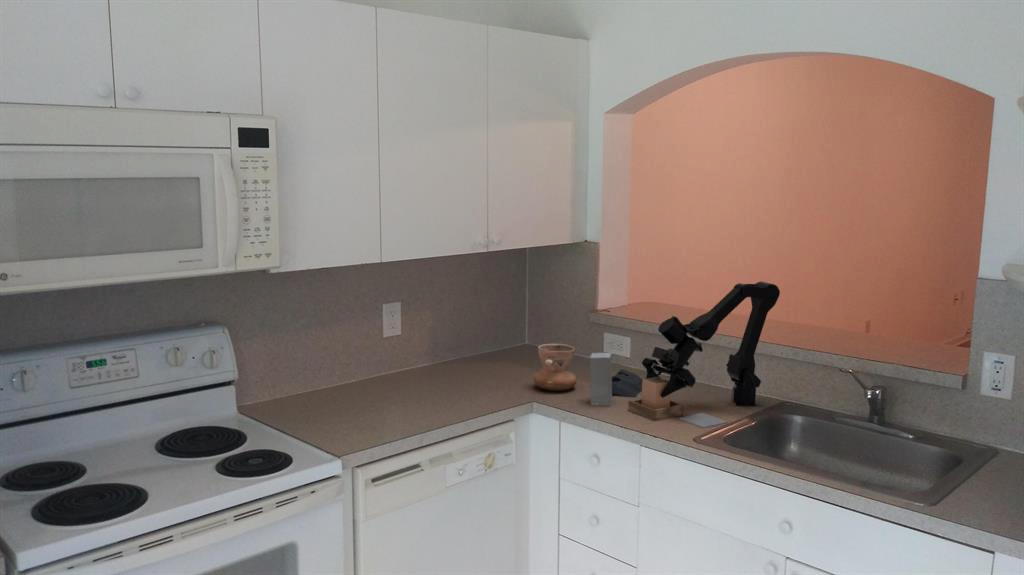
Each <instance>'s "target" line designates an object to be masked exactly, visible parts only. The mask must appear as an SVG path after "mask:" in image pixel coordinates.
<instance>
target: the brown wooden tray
mask: <svg viewBox="0 0 1024 575" xmlns="http://www.w3.org/2000/svg"><path fill="white" fill-rule="evenodd" d="M627 404H628V407H627V409H628V411H629V412H630V413H633V414H636V415H638V416H641V417H643V418H646V419H648V420H651V421H653V422H654V421H661V420H666V419H670V418H674V417H678V416H683V415H684V404H682V403H679V402H677V401H674V400H671V399H670V407H666V408H661V409H656V410H654V409H652V408H649V407H646V406H644V405H642V397H640V398H637V399H632V400H628V402H627Z"/></svg>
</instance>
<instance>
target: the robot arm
mask: <svg viewBox="0 0 1024 575" xmlns="http://www.w3.org/2000/svg"><path fill="white" fill-rule="evenodd" d="M780 293H781V292H780V289H779V287H778V286H777V284H774V283H770V282H766V281H758V282H756V283H740V282H739V283H737V284H735V285H734V286H733V288H732V289H731V290H730V291H728V293H727V294H726V295H725V296H724V297H723V298H722V299H720V300H719V301H718V302H717V303H716V304H715V305H714V306H713V307H712V308H711V309H710V310H709V311H708V312H706V313H704V314H701V315H699V316H697V317H695V318H694V319H693V320H692V321H690V322H689V323H686V324H683V323H682V322H681V321H680V319H679V318H678V317H677V316H674V315H672V317H670V318H667V319H666V320H664V321H662V322H661V323H660V324H659V326H658V329H657V330H658V332H659V333H660V334H661V335H662V336H663V337H664V338H665V339H666V341H667V342H668V343H669V344H671V345H674V344H675V345H674V346H673V348H671V347H670V348H668V349H664V348H661V347H658V346H654V348H653V351H652V354H651V357H652V358H651V357H645V358H643V360H642V361H641V365H643V367H644V368H645V369H646V376H645V379H647V378H653V377H659V378H661V377H660V376H661V375H662V373H663V374H666V375H668V376H669V382H668V384H667V385H666V387H665V388H664V390H663V391H662V393H661V397H662V398H663V397H665V396H667V395H669V394H670V395H671V394H673V393H675V392H676V391H679V390H682V389H684V388H687V387H690V388H693V387H694V385H695V384H696V377H695V376H694V375H693V374H692V372H691V371H690V370H689V369H688V368H685V366H686V367H688V366H689V365H690V362H689V360H690V358H691V357H692V355H694V353H695V352H701V353H702V352H703V351H704V350H703V347H702V342H707V341H709V340H711V339H712V337H713V336H714V335H715V334H716V333H717V331H718V329H719V325H720V324H721V322H722V321H723V320H725V318H727V317H728V316H729V315H730V314H731V313H732V312H733V311H734V310H736V308H737V307H738V306H740V304H741V303H742V302H744V300H746V299H747V298H750V301H751V306H752V307H751V311H750V314H749V317H748V319H747V323H746V327H745V330H744V333H743V336H742V339H741V342H740V345H739V349H738V351H737V352H736V353H735V354H733V353H730V354H729V357H728V361H727V363H726V372H727V374H728V376H729V377H730V380H731V382H732V383H733V387H731V400H732V402H733V403H734V404H735V406H747V407H749V406H753V407H754V406H755V407H756V406H757V403H756V397H757V396H756V395H757V388H759V387H760V385H761V383H762V380H761V379H760V378H759V377H758V376H757V375H756V373H755V371H756V360H755V355H756V354H755V353H756V350H757V347H758V345H759V341H760V339H761V335H762V331H763V329H764V325H765V323H766V319H767V316H768V313H769V312H770V311H771V310H772V309H773V307H775V306H776V303H777V302H778V300H779V297H780V296H781V295H780ZM696 340H699V341H702V342H698V341H696Z"/></svg>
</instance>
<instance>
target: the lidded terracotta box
mask: <svg viewBox="0 0 1024 575" xmlns="http://www.w3.org/2000/svg"><path fill="white" fill-rule="evenodd" d="M659 377H660V376H659ZM659 377H653V378H647V379H646V378H643V380H642V392H641V398H642V405H644V406H646V407H649V408H652V409H654V410H656V409H661V408H666V407H670V400H671V394H669V395H667V396H665V397H663V398H662V397H661V393H662V391H663V390H664V388H665V387H666V385H667V384H668V382H669V381H670V379H669V380H668V379H666V378H662V377H660V378H659Z"/></svg>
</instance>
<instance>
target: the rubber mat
mask: <svg viewBox="0 0 1024 575" xmlns="http://www.w3.org/2000/svg"><path fill="white" fill-rule="evenodd" d="M678 420H680V421H683V422H685V423H688V424H691V425H693V426H696V427H699V428H701V429H706V428H707V429H708V428H711V427H716V426H721V425H725V424H728V423H729V422H728V421H727V420H724V419H721V418H718V417H715V416H713V415H711V414H707V413H705V412H700V413H695V414H690V415H686V416H681V417H678Z"/></svg>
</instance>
